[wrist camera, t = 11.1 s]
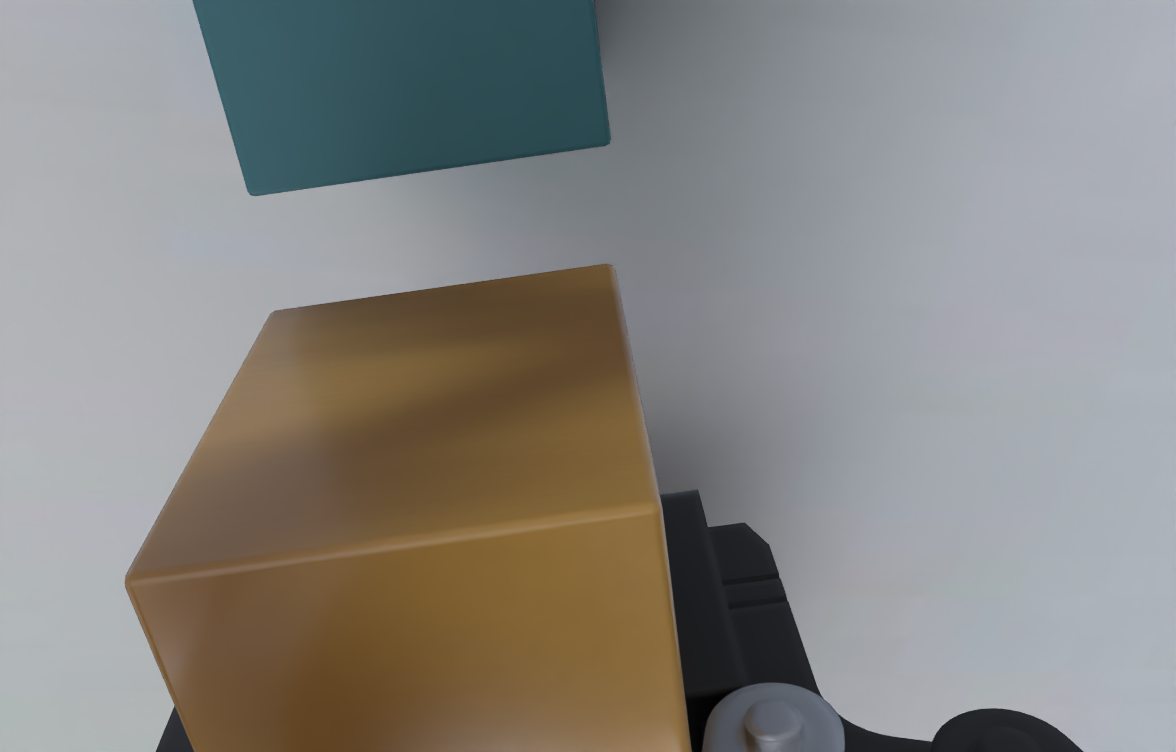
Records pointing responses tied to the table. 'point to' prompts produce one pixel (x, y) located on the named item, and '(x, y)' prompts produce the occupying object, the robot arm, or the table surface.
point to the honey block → (423, 534)
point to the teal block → (401, 85)
